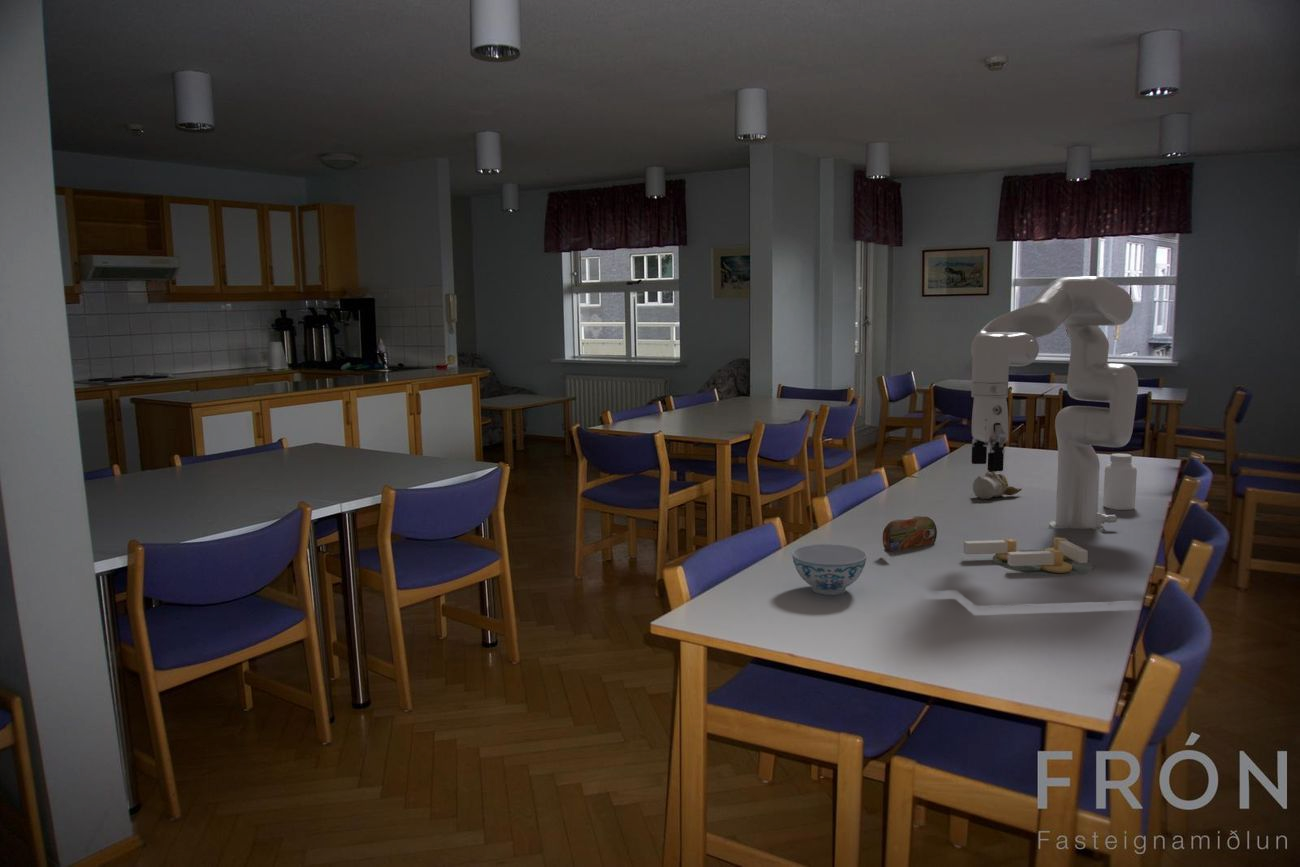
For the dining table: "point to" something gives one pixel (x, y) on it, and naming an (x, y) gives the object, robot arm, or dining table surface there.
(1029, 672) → the dining table surface
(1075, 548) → the knob right
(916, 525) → the tin
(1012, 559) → the knob front
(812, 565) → the chinaware
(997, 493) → the ceramic sculpture
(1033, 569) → the level base
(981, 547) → the knob left
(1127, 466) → the pill bottle
